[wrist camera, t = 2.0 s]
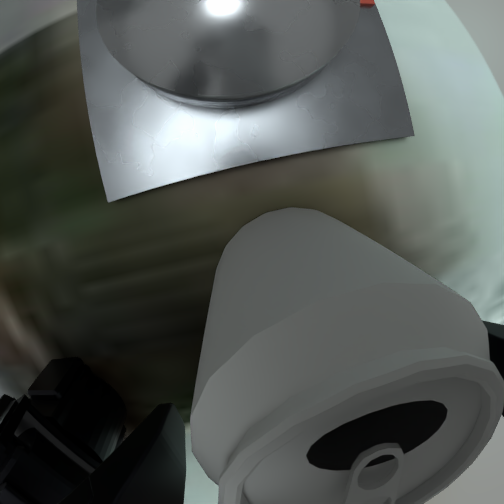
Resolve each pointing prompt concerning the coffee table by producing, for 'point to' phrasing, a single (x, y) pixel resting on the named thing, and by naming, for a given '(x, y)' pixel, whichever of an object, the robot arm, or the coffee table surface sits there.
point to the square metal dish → (231, 84)
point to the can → (336, 371)
